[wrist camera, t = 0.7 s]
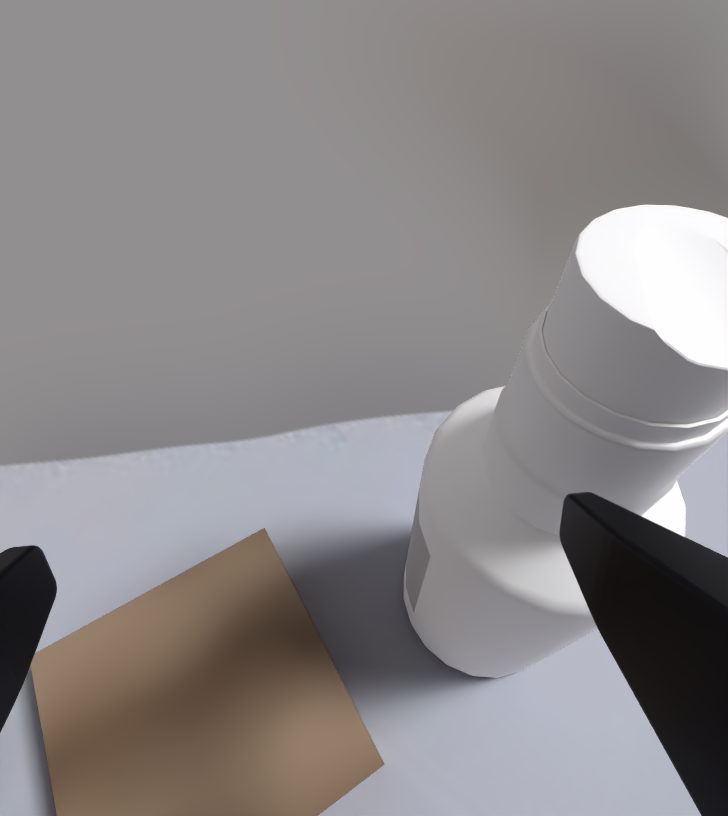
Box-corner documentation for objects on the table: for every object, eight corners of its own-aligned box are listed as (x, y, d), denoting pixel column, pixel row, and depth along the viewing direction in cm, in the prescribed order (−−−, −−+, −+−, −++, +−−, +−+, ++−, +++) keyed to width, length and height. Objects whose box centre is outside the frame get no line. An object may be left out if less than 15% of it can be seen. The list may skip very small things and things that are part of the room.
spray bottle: (530, 516, 24) (776, 143, 9) (577, 670, 20) (1137, 440, 5) (393, 528, 24) (429, 163, 9) (414, 687, 20) (536, 492, 5)
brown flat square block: (383, 763, 18) (384, 764, 17) (117, 966, 15) (87, 991, 14) (272, 543, 23) (264, 527, 22) (56, 664, 20) (28, 656, 19)
